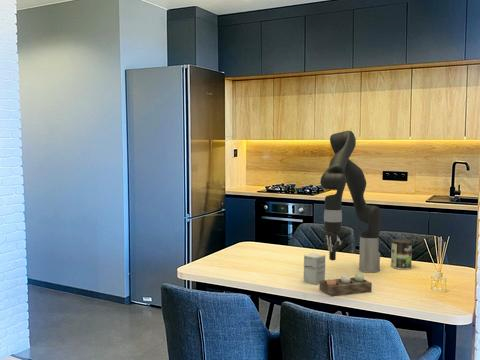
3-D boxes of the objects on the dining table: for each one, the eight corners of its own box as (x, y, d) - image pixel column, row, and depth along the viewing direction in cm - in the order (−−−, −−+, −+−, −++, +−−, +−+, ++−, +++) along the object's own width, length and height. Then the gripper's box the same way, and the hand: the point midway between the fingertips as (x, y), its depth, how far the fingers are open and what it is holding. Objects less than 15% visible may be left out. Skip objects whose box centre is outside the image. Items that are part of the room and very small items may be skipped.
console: (358, 285, 217) (358, 276, 216) (371, 291, 207) (371, 282, 207) (319, 289, 210) (319, 280, 210) (331, 296, 201) (331, 287, 200)
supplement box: (302, 281, 223) (303, 254, 222) (312, 278, 228) (313, 252, 227) (315, 285, 217) (316, 257, 216) (325, 281, 223) (325, 255, 222)
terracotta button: (332, 286, 209) (333, 279, 208) (337, 289, 205) (337, 281, 205) (324, 287, 207) (325, 280, 207) (329, 289, 204) (329, 282, 203)
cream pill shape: (346, 281, 211) (347, 274, 211) (351, 284, 207) (352, 277, 207) (338, 282, 210) (339, 275, 209) (343, 285, 206) (344, 277, 206)
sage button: (360, 280, 213) (360, 273, 213) (365, 282, 210) (365, 275, 209) (352, 281, 212) (352, 274, 212) (357, 283, 208) (358, 276, 208)
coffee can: (415, 267, 249) (416, 240, 248) (404, 270, 243) (405, 243, 242) (397, 263, 257) (398, 237, 256) (386, 266, 251) (387, 240, 250)
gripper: (349, 221, 199) (348, 262, 200) (332, 217, 211) (332, 255, 213) (333, 222, 196) (332, 264, 198) (317, 218, 209) (317, 257, 210)
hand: (332, 259), depth 205 cm, fingers closed
